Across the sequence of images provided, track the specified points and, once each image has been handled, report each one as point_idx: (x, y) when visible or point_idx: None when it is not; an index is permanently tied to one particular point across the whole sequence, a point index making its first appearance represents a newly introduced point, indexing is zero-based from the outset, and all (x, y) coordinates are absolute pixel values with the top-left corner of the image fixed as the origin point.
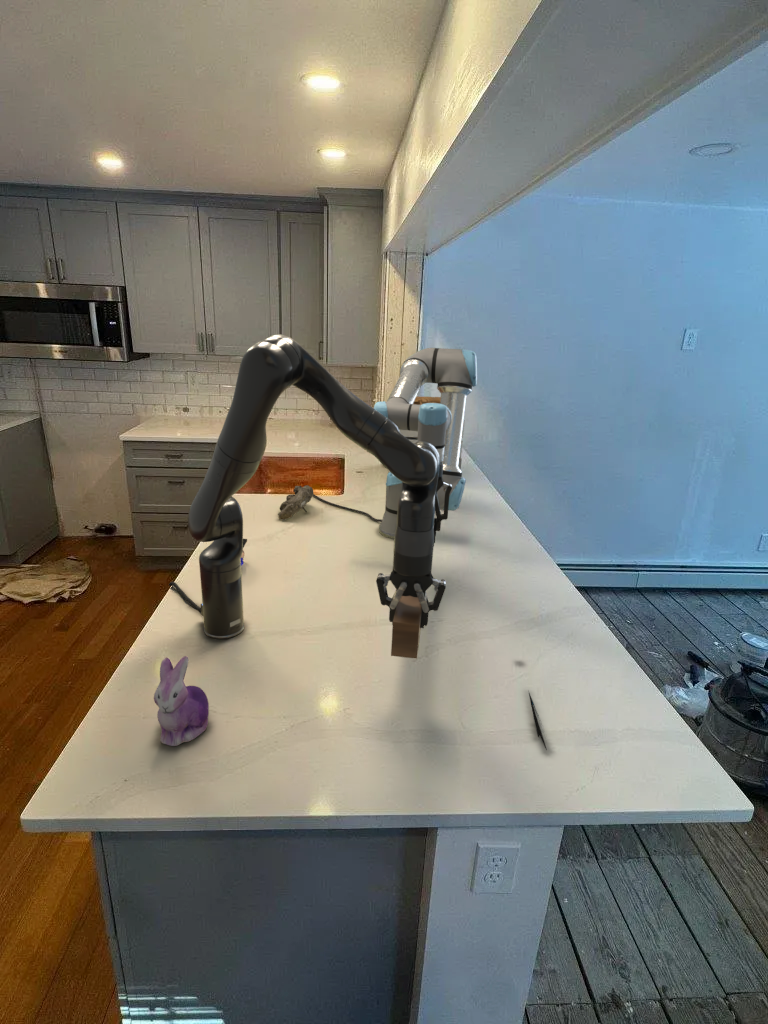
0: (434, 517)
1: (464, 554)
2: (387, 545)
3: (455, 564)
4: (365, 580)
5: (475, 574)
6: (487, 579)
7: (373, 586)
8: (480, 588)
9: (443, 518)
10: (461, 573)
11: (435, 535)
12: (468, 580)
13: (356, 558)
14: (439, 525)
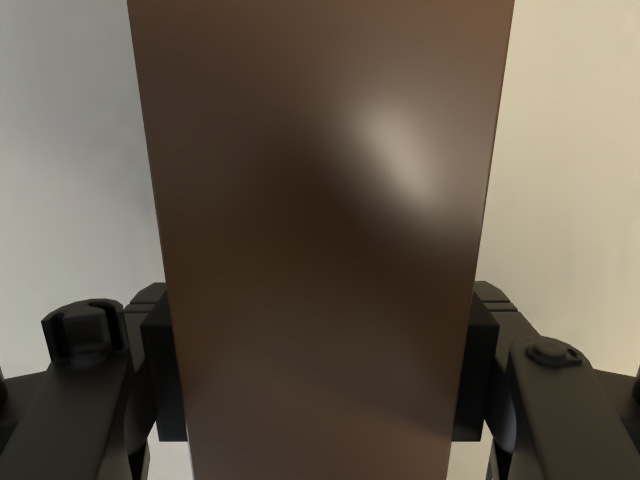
0: (186, 429)
1: (159, 446)
2: (478, 462)
3: None
4: (591, 115)
5: (83, 284)
6: (22, 248)
7: (553, 55)
8: (33, 150)
9: (19, 388)
10: (145, 281)
11: None
12: (102, 220)
13: (619, 328)
14: (129, 318)
